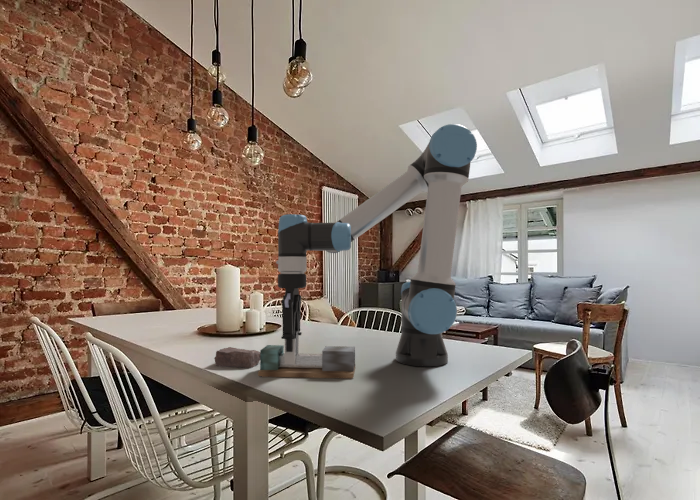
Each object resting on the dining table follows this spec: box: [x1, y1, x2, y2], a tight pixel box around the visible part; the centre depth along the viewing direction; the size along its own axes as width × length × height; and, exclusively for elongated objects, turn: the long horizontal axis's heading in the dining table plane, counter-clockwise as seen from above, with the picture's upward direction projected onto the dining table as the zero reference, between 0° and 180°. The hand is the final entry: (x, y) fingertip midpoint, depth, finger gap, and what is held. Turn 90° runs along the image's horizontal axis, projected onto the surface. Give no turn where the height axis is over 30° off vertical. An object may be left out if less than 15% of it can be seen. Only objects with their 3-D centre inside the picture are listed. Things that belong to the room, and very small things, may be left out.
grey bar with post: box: [279, 331, 322, 368], centre depth 103 cm, size 16×3×9 cm, turn 86°
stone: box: [213, 346, 260, 369], centre depth 112 cm, size 9×12×5 cm
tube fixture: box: [257, 344, 356, 379], centre depth 103 cm, size 24×10×6 cm, turn 86°
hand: (291, 361), depth 103 cm, fingers closed on grey bar with post, 3 cm apart
